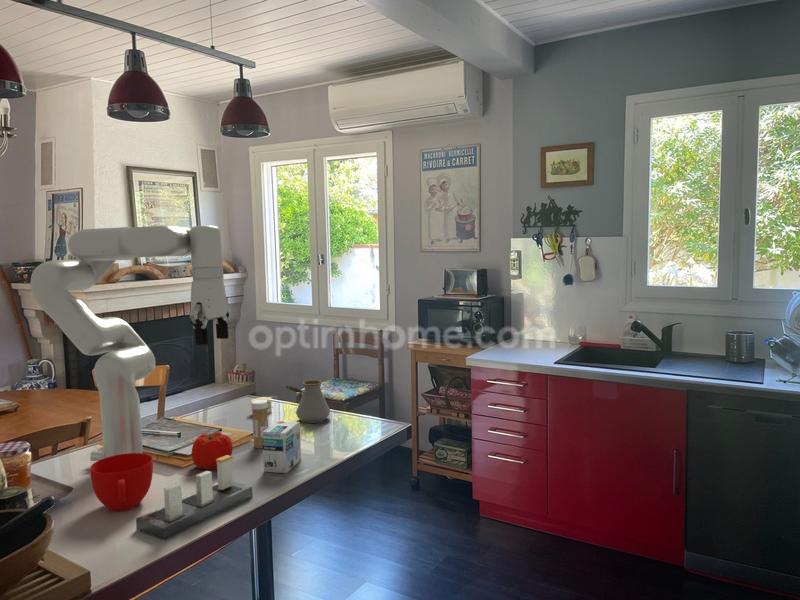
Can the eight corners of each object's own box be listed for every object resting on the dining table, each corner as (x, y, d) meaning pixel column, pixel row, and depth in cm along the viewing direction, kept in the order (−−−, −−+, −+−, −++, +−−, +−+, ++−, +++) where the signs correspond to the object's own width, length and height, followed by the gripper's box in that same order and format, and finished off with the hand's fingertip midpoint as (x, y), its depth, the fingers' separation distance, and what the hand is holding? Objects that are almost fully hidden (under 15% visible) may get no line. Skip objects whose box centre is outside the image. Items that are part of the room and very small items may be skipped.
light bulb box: (287, 474, 153) (285, 433, 153) (262, 472, 155) (261, 431, 154) (302, 459, 164) (300, 421, 163) (279, 458, 165) (277, 420, 164)
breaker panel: (164, 540, 119) (162, 495, 118) (136, 530, 124) (134, 486, 123) (252, 496, 139) (251, 458, 139) (225, 489, 144) (224, 451, 143)
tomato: (241, 463, 162) (240, 432, 161) (208, 476, 152) (207, 443, 152) (215, 456, 167) (214, 426, 167) (182, 469, 158) (180, 437, 158)
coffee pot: (307, 413, 209) (306, 371, 208) (336, 417, 205) (335, 374, 203) (271, 431, 190) (270, 385, 188) (302, 435, 185) (301, 387, 184)
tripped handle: (222, 490, 136) (221, 460, 136) (217, 488, 137) (216, 459, 137) (233, 485, 139) (232, 456, 138) (228, 483, 140) (226, 454, 139)
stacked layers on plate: (260, 409, 217) (259, 395, 217) (280, 412, 214) (280, 397, 213) (242, 417, 208) (241, 401, 207) (263, 419, 204) (263, 403, 204)
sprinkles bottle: (269, 447, 174) (267, 402, 173) (253, 449, 173) (251, 403, 172) (269, 443, 178) (267, 398, 177) (253, 444, 177) (251, 400, 176)
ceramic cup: (89, 530, 124) (86, 483, 123) (94, 499, 140) (91, 458, 139) (156, 518, 129) (153, 473, 128) (154, 489, 145) (152, 449, 144)
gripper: (213, 273, 161) (217, 336, 162) (174, 277, 144) (179, 347, 145) (238, 272, 159) (242, 336, 160) (202, 275, 142) (207, 346, 144)
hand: (212, 341), depth 153 cm, fingers open, 9 cm apart
